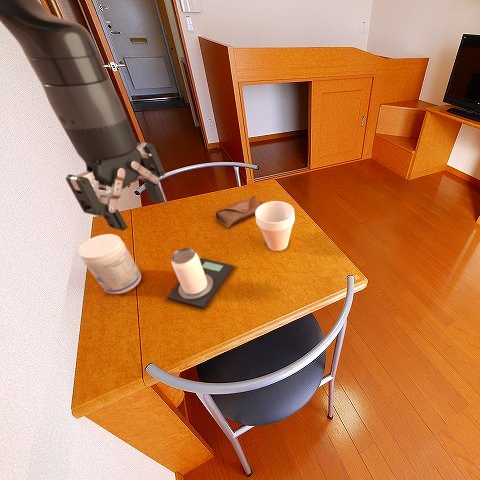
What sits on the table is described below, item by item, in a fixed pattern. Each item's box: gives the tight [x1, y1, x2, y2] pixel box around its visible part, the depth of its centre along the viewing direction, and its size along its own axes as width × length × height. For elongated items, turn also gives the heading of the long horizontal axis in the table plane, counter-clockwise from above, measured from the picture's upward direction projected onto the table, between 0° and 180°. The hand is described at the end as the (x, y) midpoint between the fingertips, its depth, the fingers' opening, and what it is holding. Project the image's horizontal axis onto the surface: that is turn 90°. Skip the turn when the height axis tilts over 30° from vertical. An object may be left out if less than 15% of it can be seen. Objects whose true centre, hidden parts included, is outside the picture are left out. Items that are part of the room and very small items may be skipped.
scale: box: [166, 257, 234, 310], centre depth 80 cm, size 16×11×2 cm
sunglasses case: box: [215, 195, 262, 228], centre depth 106 cm, size 18×7×7 cm, turn 136°
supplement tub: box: [77, 233, 142, 295], centre depth 75 cm, size 10×10×15 cm
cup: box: [254, 200, 296, 252], centre depth 90 cm, size 12×12×14 cm
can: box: [170, 247, 207, 294], centre depth 74 cm, size 6×6×12 cm
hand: (140, 214), depth 48 cm, fingers open, 8 cm apart
